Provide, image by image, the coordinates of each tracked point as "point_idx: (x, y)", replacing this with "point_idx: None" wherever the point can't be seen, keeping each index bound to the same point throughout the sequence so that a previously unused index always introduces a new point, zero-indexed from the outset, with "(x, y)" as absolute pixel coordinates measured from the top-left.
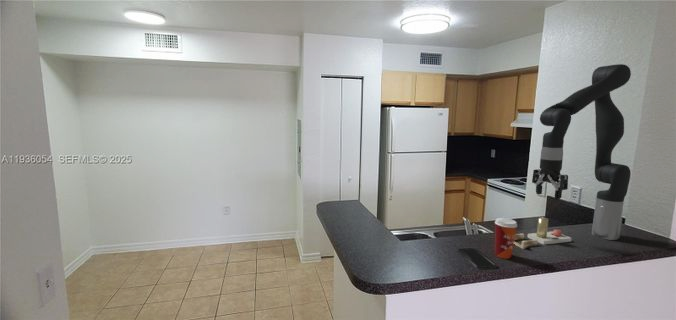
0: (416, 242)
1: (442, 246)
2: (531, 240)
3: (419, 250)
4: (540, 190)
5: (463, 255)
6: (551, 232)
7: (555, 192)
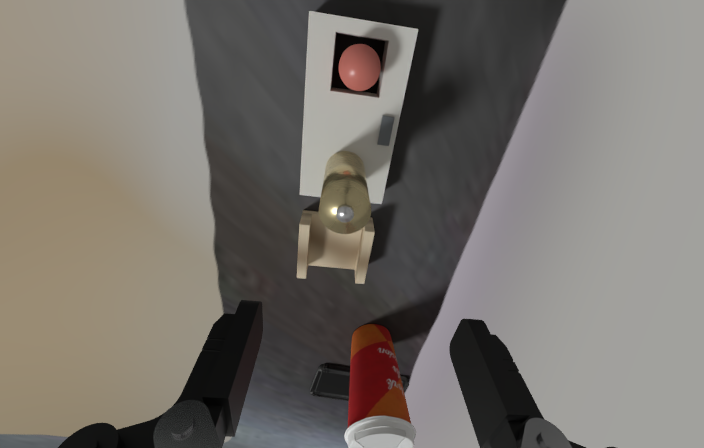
0: (246, 424)
1: (280, 401)
2: (366, 252)
3: (286, 433)
4: (251, 350)
5: (339, 397)
6: (320, 57)
7: (476, 420)
